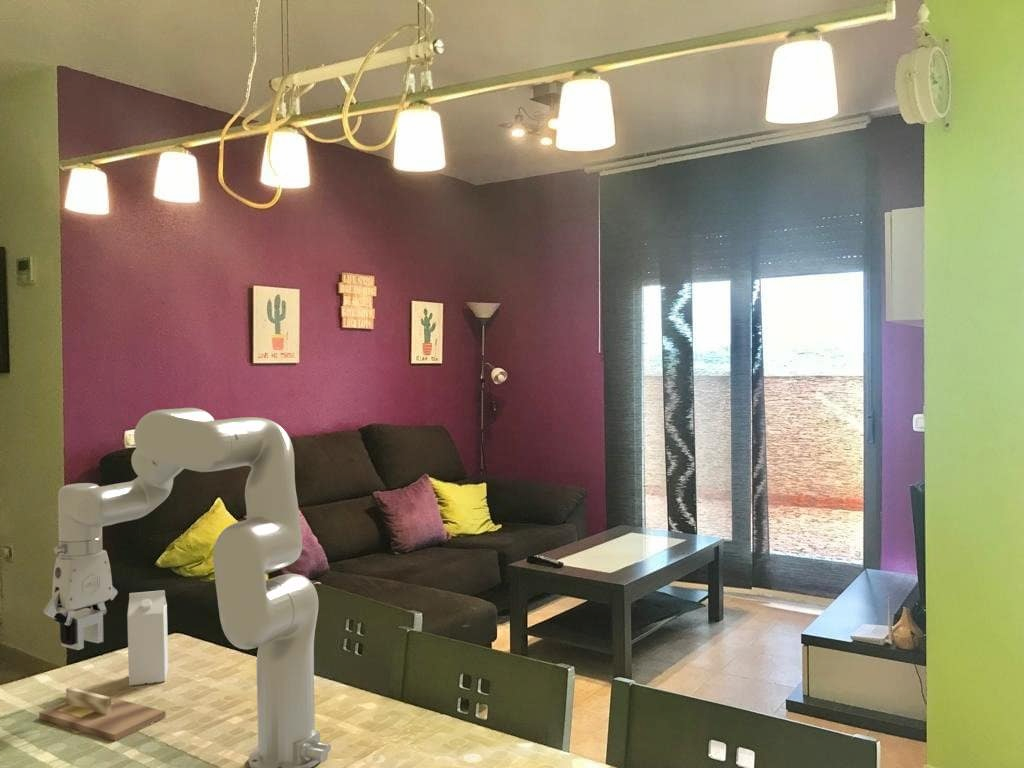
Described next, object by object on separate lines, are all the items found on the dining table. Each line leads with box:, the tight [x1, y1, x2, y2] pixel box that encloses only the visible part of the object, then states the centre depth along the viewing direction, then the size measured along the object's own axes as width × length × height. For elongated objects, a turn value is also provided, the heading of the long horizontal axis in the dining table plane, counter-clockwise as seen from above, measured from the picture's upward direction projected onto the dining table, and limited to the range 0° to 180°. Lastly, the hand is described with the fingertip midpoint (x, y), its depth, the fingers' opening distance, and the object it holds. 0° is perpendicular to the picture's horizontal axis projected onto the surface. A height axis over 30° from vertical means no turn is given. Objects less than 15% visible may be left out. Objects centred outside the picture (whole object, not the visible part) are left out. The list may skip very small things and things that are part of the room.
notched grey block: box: [60, 607, 104, 651], centre depth 161 cm, size 5×5×6 cm
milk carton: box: [126, 589, 169, 686], centre depth 179 cm, size 7×7×19 cm
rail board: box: [38, 686, 167, 742], centre depth 159 cm, size 22×11×4 cm, turn 63°
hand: (82, 638), depth 161 cm, fingers closed on notched grey block, 5 cm apart
